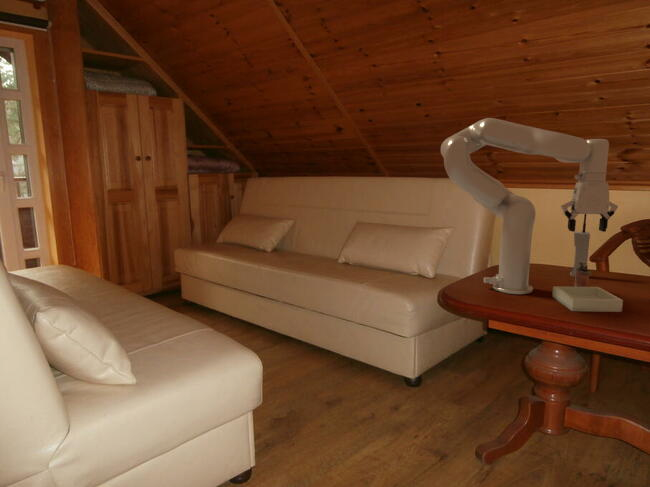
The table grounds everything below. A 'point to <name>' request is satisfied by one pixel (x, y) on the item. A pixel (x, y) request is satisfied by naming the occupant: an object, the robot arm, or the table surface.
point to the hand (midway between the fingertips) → (586, 231)
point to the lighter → (582, 275)
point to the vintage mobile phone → (580, 247)
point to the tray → (587, 299)
